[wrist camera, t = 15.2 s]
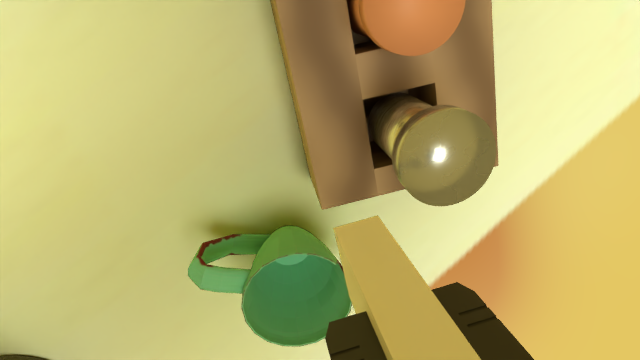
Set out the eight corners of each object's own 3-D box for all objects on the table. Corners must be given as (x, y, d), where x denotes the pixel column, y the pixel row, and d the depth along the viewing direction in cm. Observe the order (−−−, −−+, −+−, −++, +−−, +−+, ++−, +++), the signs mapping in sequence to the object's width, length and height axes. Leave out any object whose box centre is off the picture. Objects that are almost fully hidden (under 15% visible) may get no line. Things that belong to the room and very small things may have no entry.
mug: (345, 215, 46) (368, 265, 37) (318, 290, 49) (333, 353, 40) (209, 184, 42) (197, 230, 33) (189, 266, 45) (172, 330, 36)
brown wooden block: (310, 177, 44) (322, 209, 36) (229, -180, 32) (222, -238, 25) (457, 141, 45) (498, 165, 37) (429, -218, 33) (479, -284, 26)
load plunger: (340, 52, 37) (373, 66, 27) (326, -28, 34) (356, -46, 24) (411, 36, 37) (469, 44, 27) (402, -45, 35) (462, -69, 25)
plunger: (366, 164, 38) (406, 216, 28) (354, 93, 35) (393, 123, 25) (434, 147, 38) (498, 192, 28) (427, 76, 36) (494, 99, 26)
